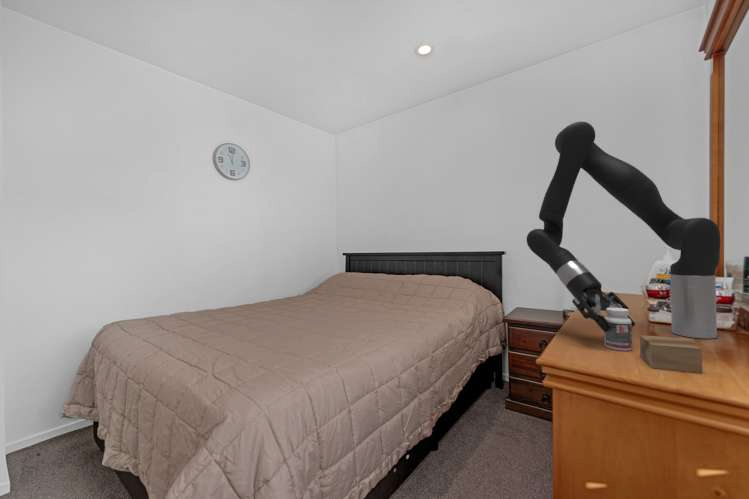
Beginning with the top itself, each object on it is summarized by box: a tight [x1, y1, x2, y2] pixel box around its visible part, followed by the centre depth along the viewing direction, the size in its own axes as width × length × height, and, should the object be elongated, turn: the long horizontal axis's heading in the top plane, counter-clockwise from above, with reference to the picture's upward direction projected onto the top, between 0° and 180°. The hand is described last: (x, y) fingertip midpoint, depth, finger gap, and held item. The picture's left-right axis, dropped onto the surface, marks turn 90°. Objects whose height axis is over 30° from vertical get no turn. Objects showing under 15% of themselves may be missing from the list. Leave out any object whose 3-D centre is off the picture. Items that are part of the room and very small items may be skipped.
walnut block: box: [639, 334, 703, 374], centre depth 71 cm, size 8×8×5 cm
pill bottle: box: [603, 308, 633, 352], centre depth 83 cm, size 6×6×10 cm
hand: (620, 328), depth 82 cm, fingers open, 8 cm apart
